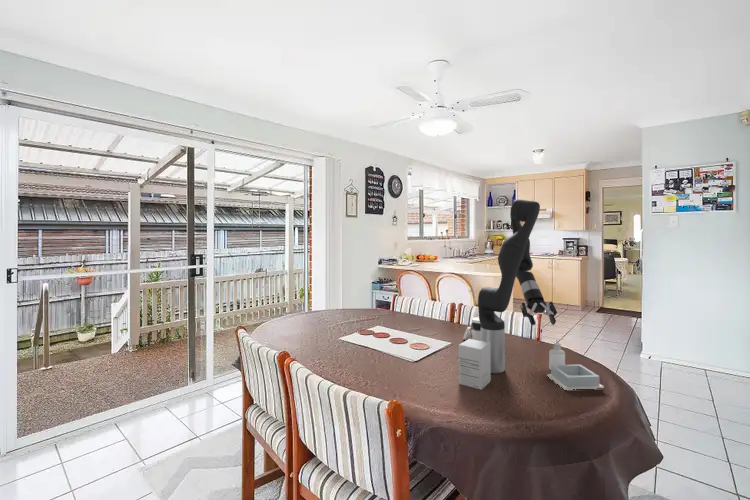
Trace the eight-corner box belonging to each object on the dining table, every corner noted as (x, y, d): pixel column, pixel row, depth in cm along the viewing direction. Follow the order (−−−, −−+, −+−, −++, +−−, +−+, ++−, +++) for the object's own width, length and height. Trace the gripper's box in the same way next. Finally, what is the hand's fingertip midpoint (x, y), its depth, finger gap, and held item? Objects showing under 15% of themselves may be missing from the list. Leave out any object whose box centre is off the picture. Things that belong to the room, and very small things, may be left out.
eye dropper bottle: (562, 373, 144) (562, 343, 143) (547, 369, 148) (547, 340, 147) (566, 370, 147) (566, 340, 146) (551, 366, 151) (551, 337, 150)
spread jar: (489, 345, 179) (489, 321, 178) (466, 345, 179) (466, 321, 179) (483, 337, 191) (483, 315, 190) (461, 337, 191) (461, 315, 191)
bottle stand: (564, 390, 129) (564, 378, 129) (547, 376, 141) (547, 365, 141) (603, 389, 129) (603, 376, 129) (583, 375, 141) (583, 363, 141)
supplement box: (468, 375, 143) (468, 338, 142) (491, 381, 138) (491, 342, 137) (458, 383, 136) (457, 344, 135) (481, 390, 131) (481, 349, 130)
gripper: (518, 288, 164) (530, 320, 154) (550, 287, 165) (563, 319, 154) (513, 297, 170) (524, 329, 159) (544, 296, 170) (557, 328, 160)
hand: (544, 324), depth 157 cm, fingers open, 8 cm apart
